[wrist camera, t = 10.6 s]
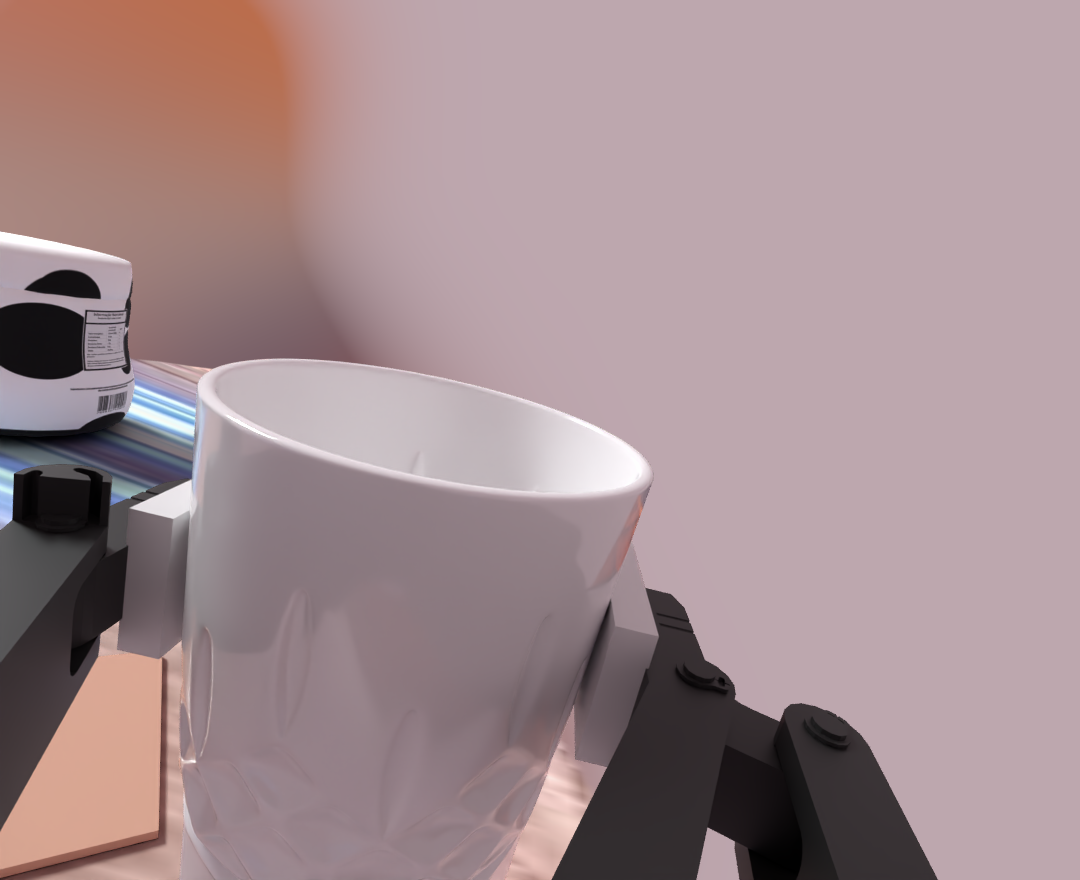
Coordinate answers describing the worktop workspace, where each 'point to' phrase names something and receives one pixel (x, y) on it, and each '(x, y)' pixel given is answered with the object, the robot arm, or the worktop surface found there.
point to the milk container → (62, 338)
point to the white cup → (385, 617)
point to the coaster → (93, 772)
